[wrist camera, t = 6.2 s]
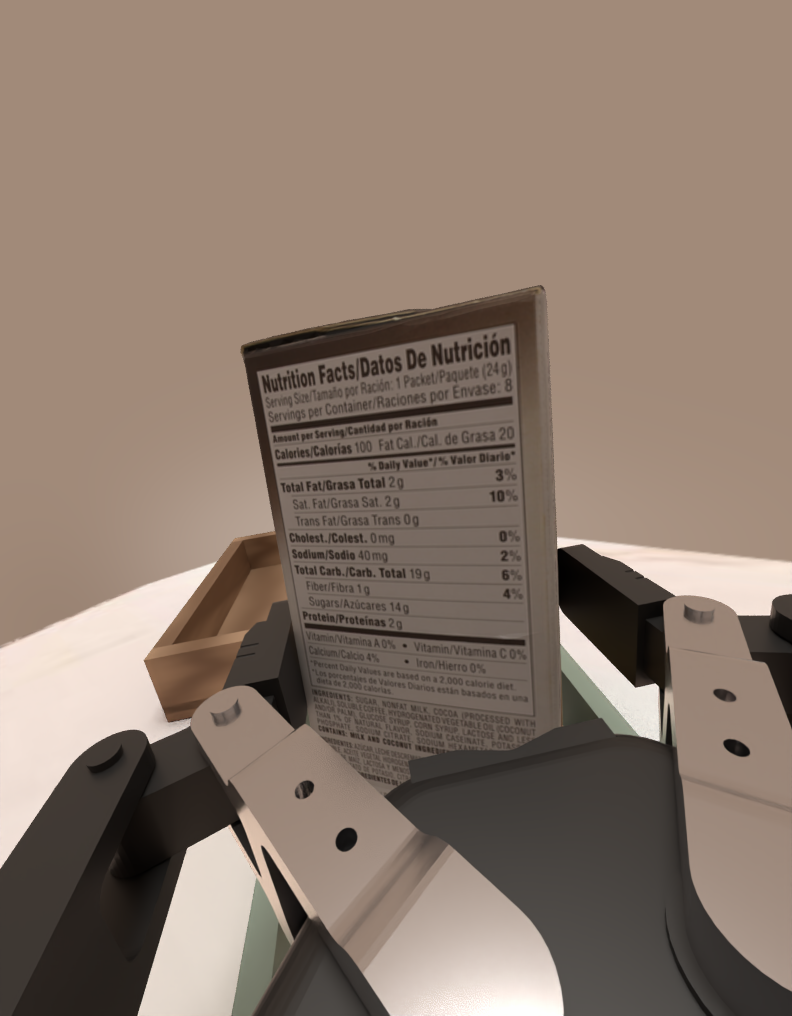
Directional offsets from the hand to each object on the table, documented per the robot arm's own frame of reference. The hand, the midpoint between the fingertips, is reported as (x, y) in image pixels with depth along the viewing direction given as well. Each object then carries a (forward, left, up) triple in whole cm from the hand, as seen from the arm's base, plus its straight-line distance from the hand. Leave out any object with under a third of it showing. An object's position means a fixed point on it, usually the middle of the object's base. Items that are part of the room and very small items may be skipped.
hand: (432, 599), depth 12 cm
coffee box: (0, 0, -9) cm, 9 cm away
